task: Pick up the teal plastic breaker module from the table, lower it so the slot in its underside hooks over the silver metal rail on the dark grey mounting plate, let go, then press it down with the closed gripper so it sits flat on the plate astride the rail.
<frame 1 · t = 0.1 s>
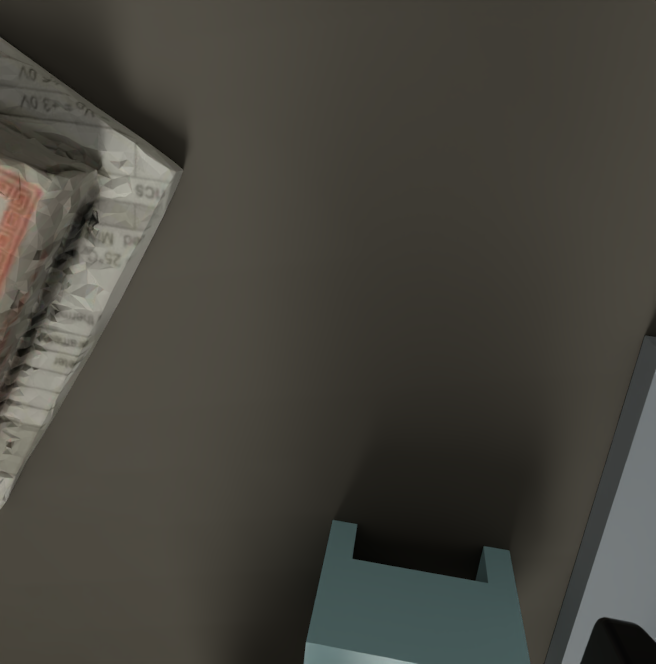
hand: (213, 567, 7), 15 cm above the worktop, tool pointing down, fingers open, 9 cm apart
module: (410, 583, 25), on the worktop
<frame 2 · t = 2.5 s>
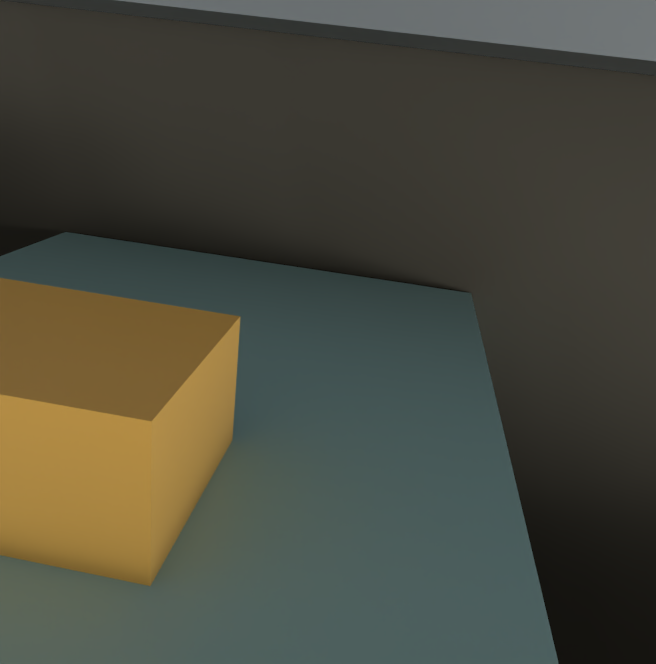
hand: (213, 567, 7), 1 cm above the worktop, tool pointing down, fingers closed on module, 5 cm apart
module: (243, 500, 9), on the worktop, touching gripper
when the fingers open (4 cm above the worktop, at t = 6.6 s): module drops 1 cm, resting on mounting plate.
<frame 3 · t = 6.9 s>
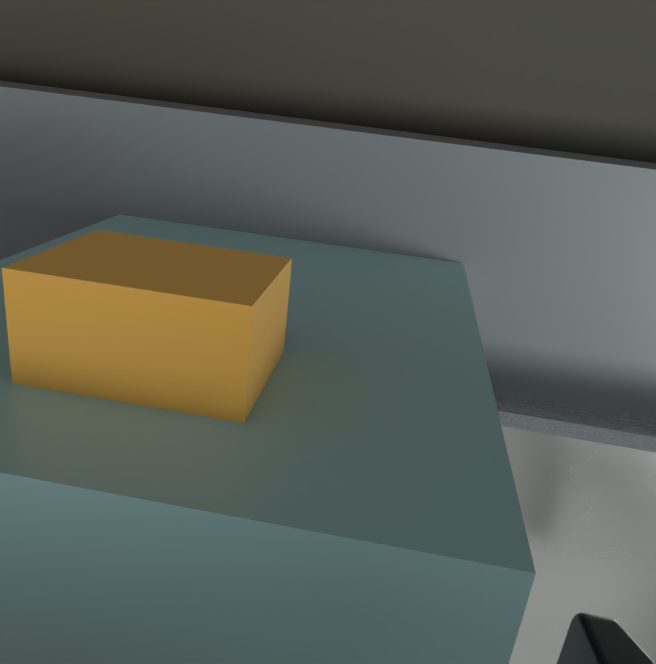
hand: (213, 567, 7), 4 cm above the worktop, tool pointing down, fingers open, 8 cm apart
module: (268, 448, 10), point 1 cm above the worktop, touching mounting plate
din rail: (385, 496, 9), on the mounting plate, point 2 cm above the worktop
mounting plate: (393, 421, 11), on the worktop
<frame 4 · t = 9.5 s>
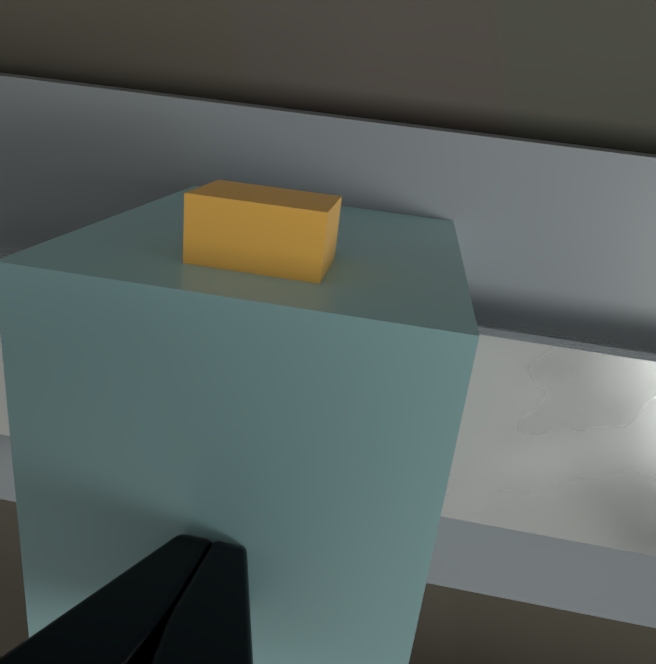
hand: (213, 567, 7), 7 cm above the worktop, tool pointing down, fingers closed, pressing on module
module: (304, 369, 13), point 1 cm above the worktop, touching gripper, mounting plate
din rail: (395, 399, 12), on the mounting plate, point 2 cm above the worktop
mounting plate: (399, 354, 14), on the worktop
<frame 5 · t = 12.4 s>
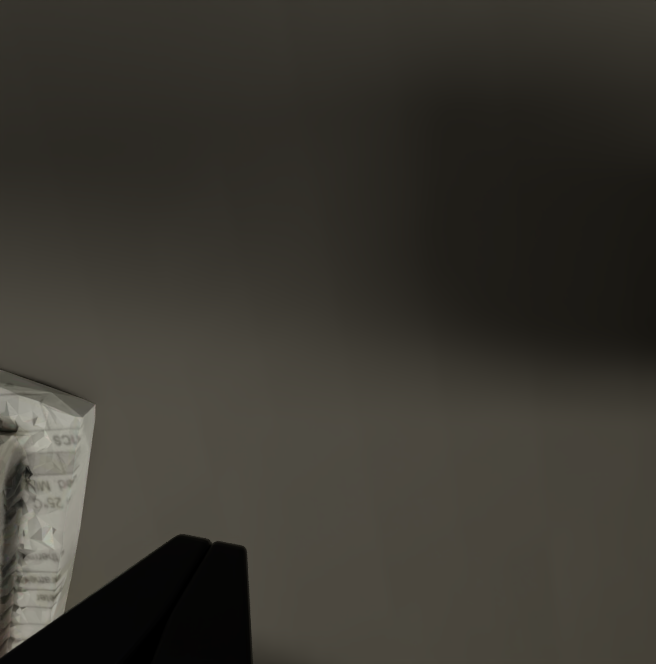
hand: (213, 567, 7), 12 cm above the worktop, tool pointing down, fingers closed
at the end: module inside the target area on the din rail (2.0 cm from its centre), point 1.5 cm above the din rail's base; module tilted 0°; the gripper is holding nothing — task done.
